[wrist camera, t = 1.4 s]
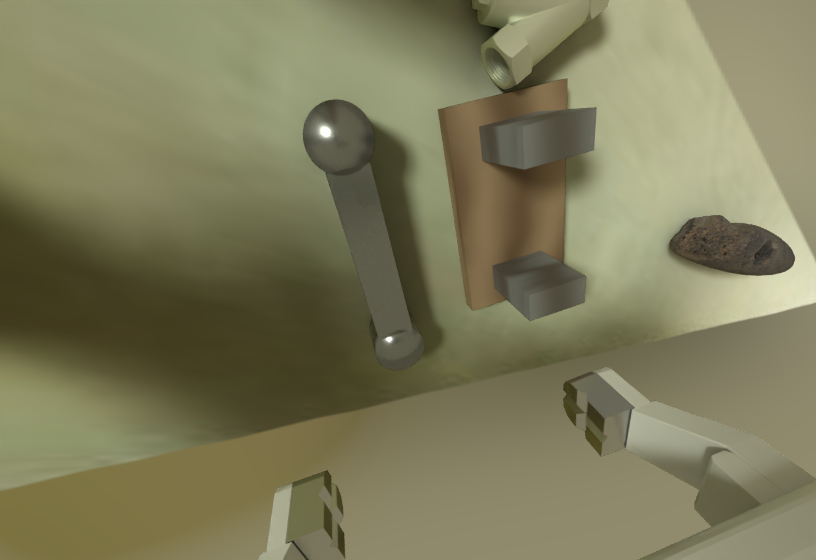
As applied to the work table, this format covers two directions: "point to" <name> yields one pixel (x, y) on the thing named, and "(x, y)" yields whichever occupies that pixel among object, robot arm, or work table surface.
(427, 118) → the work table surface
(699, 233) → the perforated stone tool
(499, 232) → the peg stand
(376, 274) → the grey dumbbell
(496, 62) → the pipe fitting
